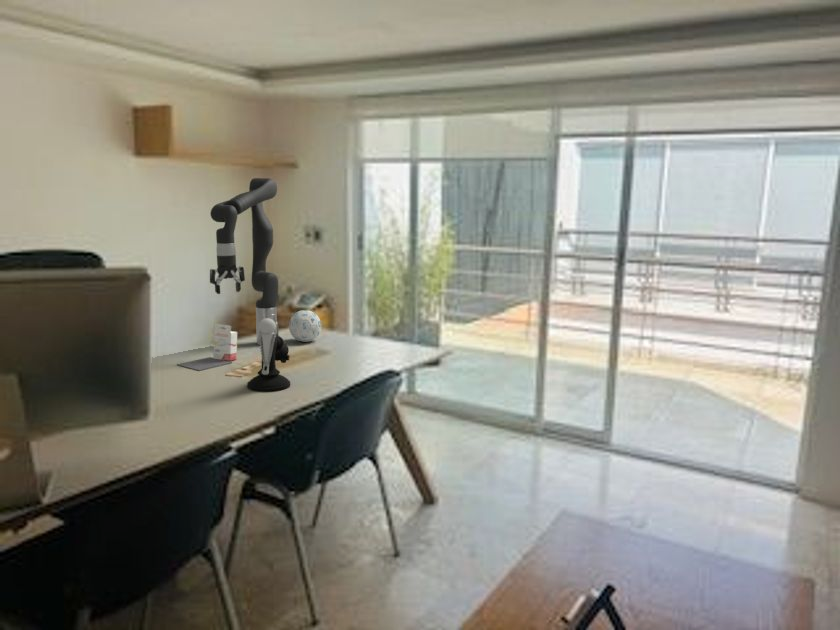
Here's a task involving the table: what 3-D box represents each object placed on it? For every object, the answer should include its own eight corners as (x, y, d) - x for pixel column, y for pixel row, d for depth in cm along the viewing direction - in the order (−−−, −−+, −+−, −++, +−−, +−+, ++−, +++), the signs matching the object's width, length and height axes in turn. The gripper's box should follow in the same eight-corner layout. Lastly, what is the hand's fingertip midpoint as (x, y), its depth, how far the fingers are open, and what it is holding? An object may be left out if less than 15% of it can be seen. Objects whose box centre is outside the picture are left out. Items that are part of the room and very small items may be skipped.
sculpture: (240, 390, 232) (238, 320, 227) (265, 373, 255) (264, 309, 250) (282, 393, 230) (281, 323, 225) (303, 375, 253) (302, 311, 248)
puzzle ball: (300, 346, 302) (299, 314, 299) (283, 340, 313) (282, 309, 310) (327, 342, 312) (327, 310, 309) (310, 336, 323) (309, 306, 320)
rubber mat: (210, 357, 276) (210, 356, 276) (232, 363, 269) (232, 362, 269) (177, 365, 263) (177, 364, 263) (199, 371, 256) (199, 370, 256)
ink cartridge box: (237, 359, 275) (238, 324, 273) (230, 361, 270) (231, 325, 269) (219, 356, 278) (220, 322, 276) (212, 358, 273) (213, 323, 271)
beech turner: (251, 363, 269) (251, 360, 269) (267, 364, 268) (267, 362, 267) (225, 375, 250) (225, 372, 250) (241, 377, 249) (241, 374, 248)
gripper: (238, 252, 278) (240, 289, 281) (205, 254, 269) (208, 293, 273) (246, 253, 273) (248, 292, 276) (213, 256, 264) (215, 295, 267)
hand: (228, 292), depth 274 cm, fingers open, 8 cm apart
